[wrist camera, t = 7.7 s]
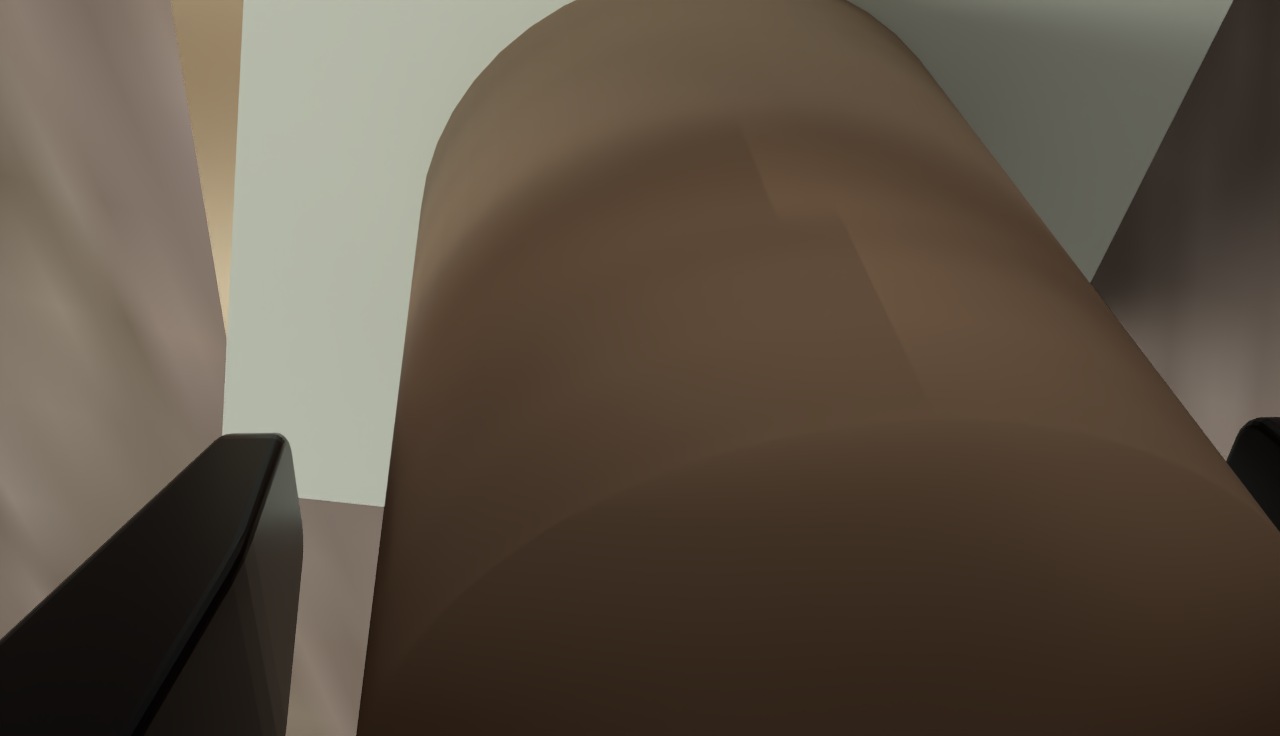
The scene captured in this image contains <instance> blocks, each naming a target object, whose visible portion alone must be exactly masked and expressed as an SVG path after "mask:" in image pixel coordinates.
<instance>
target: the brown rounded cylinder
mask: <svg viewBox="0 0 1280 736" xmlns="http://www.w3.org/2000/svg"><path fill="white" fill-rule="evenodd" d="M356 736H1280V532H1279V531H1278V529H1277V528H1276V527H1275V525H1274V524H1273V523H1272V521H1271V520H1270V519H1269V517H1268V516H1267V515H1266V514H1265V512H1264V511H1263V510H1262V508H1261V507H1260V506H1259V504H1258V503H1257V502H1256V500H1255V499H1254V498H1253V496H1252V495H1251V494H1250V493H1249V491H1248V490H1247V489H1246V487H1245V486H1244V485H1243V483H1242V482H1241V481H1240V479H1239V478H1238V477H1237V475H1236V474H1235V473H1234V472H1233V470H1232V469H1231V468H1230V466H1229V465H1228V464H1227V462H1226V461H1225V460H1224V458H1223V457H1222V456H1221V454H1220V453H1219V452H1218V451H1217V449H1216V448H1215V447H1214V445H1213V444H1212V443H1211V441H1210V440H1209V439H1208V437H1207V436H1206V435H1205V433H1204V432H1203V431H1202V430H1201V428H1200V427H1199V426H1198V424H1197V423H1196V422H1195V420H1194V419H1193V418H1192V416H1191V415H1190V414H1189V412H1188V411H1187V410H1186V409H1185V407H1184V406H1183V405H1182V403H1181V402H1180V401H1179V399H1178V398H1177V397H1176V395H1175V394H1174V393H1173V391H1172V390H1171V389H1170V388H1169V386H1168V385H1167V384H1166V382H1165V381H1164V380H1163V378H1162V377H1161V376H1160V374H1159V373H1158V372H1157V371H1156V369H1155V368H1154V367H1153V365H1152V364H1151V363H1150V361H1149V360H1148V359H1147V357H1146V356H1145V355H1144V353H1143V352H1142V351H1141V350H1140V348H1139V347H1138V346H1137V344H1136V343H1135V342H1134V340H1133V339H1132V338H1131V336H1130V335H1129V334H1128V332H1127V331H1126V330H1125V329H1124V327H1123V326H1122V325H1121V323H1120V322H1119V321H1118V319H1117V318H1116V317H1115V315H1114V314H1113V313H1112V311H1111V310H1110V309H1109V308H1108V306H1107V305H1106V304H1105V302H1104V301H1103V300H1102V298H1101V297H1100V296H1099V294H1098V293H1097V292H1096V290H1095V289H1094V288H1093V287H1092V285H1091V284H1090V283H1089V281H1088V280H1087V279H1086V277H1085V276H1084V275H1083V273H1082V272H1081V271H1080V269H1079V268H1078V267H1077V266H1076V264H1075V263H1074V262H1073V260H1072V259H1071V258H1070V256H1069V255H1068V254H1067V252H1066V251H1065V250H1064V248H1063V247H1062V246H1061V245H1060V243H1059V242H1058V241H1057V239H1056V238H1055V237H1054V235H1053V234H1052V233H1051V231H1050V230H1049V229H1048V228H1047V226H1046V225H1045V224H1044V222H1043V221H1042V220H1041V218H1040V217H1039V216H1038V214H1037V213H1036V212H1035V210H1034V209H1033V208H1032V207H1031V205H1030V204H1029V203H1028V201H1027V200H1026V199H1025V197H1024V196H1023V195H1022V193H1021V192H1020V191H1019V189H1018V188H1017V187H1016V186H1015V184H1014V183H1013V182H1012V180H1011V179H1010V178H1009V176H1008V175H1007V174H1006V172H1005V171H1004V170H1003V168H1002V167H1001V166H1000V165H999V163H998V162H997V161H996V159H995V158H994V157H993V155H992V154H991V153H990V151H989V150H988V149H987V147H986V146H985V145H984V144H983V142H982V141H981V140H980V138H979V137H978V136H977V134H976V133H975V132H974V130H973V129H972V128H971V126H970V125H969V124H968V123H967V121H966V120H965V119H964V117H963V116H962V115H961V113H960V112H959V111H958V109H957V108H956V107H955V105H954V104H953V103H952V102H951V100H950V99H949V98H948V96H947V95H946V94H945V92H944V91H943V90H942V88H941V87H940V86H939V84H938V83H937V82H936V81H935V79H934V78H933V77H932V75H931V74H930V73H929V71H928V70H927V69H926V67H925V66H924V65H923V64H922V62H921V61H920V60H919V58H918V57H917V56H916V55H915V54H914V53H913V52H912V51H911V50H910V49H909V48H908V47H907V46H906V45H905V44H904V43H903V41H902V40H901V39H900V38H899V37H898V36H897V35H896V34H895V33H894V32H892V31H891V30H890V29H888V28H887V27H886V26H885V25H883V24H882V23H881V22H879V21H878V20H877V19H876V18H874V17H873V16H872V15H870V14H869V13H868V12H866V11H865V10H863V9H861V8H859V7H858V6H856V5H854V4H852V3H851V2H849V1H847V0H575V1H573V2H571V3H569V4H567V5H564V6H563V7H561V8H560V9H558V10H556V11H555V12H553V13H552V14H550V15H548V16H547V17H545V18H544V19H542V20H541V21H539V22H537V23H536V24H534V25H533V26H531V27H530V28H528V29H527V30H526V31H525V32H524V33H522V34H521V35H520V36H519V37H518V38H516V39H515V40H514V41H513V42H512V43H510V44H509V45H508V46H507V47H506V48H504V49H503V50H502V51H501V52H500V53H499V54H498V55H497V56H496V57H495V58H494V59H493V60H492V61H491V63H490V64H489V65H488V66H487V67H486V68H485V69H484V70H483V71H482V72H481V73H480V75H479V76H478V77H477V78H476V79H475V80H474V81H473V83H472V84H471V86H470V87H469V89H468V90H467V91H466V93H465V94H464V96H463V97H462V99H461V100H460V102H459V103H458V105H457V106H456V107H455V109H454V110H453V112H452V114H451V116H450V118H449V120H448V122H447V124H446V126H445V128H444V130H443V132H442V134H441V136H440V138H439V140H438V142H437V145H436V148H435V151H434V154H433V157H432V160H431V164H430V167H429V170H428V173H427V176H426V181H425V187H424V193H423V199H422V205H421V211H420V220H419V228H418V236H417V244H416V252H415V260H414V269H413V277H412V285H411V293H410V301H409V309H408V318H407V326H406V334H405V342H404V350H403V359H402V367H401V375H400V383H399V391H398V399H397V408H396V416H395V424H394V432H393V440H392V448H391V457H390V465H389V473H388V481H387V489H386V498H385V506H384V514H383V522H382V530H381V538H380V547H379V555H378V563H377V571H376V579H375V587H374V596H373V604H372V612H371V620H370V628H369V637H368V645H367V653H366V661H365V669H364V677H363V686H362V694H361V702H360V710H359V718H358V726H357V735H356Z"/></svg>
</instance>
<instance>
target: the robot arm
mask: <svg viewBox="0 0 1280 736" xmlns="http://www.w3.org/2000/svg"><path fill="white" fill-rule="evenodd" d="M1226 462H1227V464H1228V465H1229V466H1230V468H1231V469H1232V470H1233V472H1234V473H1235V474H1236V475H1237V477H1238V478H1239V479H1240V481H1241V482H1242V483H1243V485H1244V486H1245V487H1246V489H1247V490H1248V491H1249V493H1250V494H1251V495H1252V496H1253V498H1254V499H1255V500H1256V502H1257V503H1258V504H1259V506H1260V507H1261V508H1262V510H1263V511H1264V512H1265V514H1266V515H1267V516H1268V517H1269V519H1270V520H1271V521H1272V523H1273V524H1274V525H1275V527H1276V528H1277V529H1278V531H1279V532H1280V417H1260V418H1256V419H1253V420H1251V421H1249V422H1247V423H1246V424H1245V425H1244V426H1243V427H1242V428H1241V429H1240V431H1239V433H1238V435H1237V437H1236V439H1235V442H1234V444H1233V446H1232V449H1231V451H1230V453H1229V456H1228V458H1227V461H1226ZM302 560H303V529H302V520H301V513H300V506H299V499H298V492H297V485H296V478H295V471H294V465H293V458H292V451H291V447H290V444H289V442H288V440H287V439H286V437H285V436H283V435H282V434H280V433H232V434H225V435H223V436H221V437H219V438H218V439H217V440H215V441H214V442H213V443H212V444H211V445H210V446H209V447H208V448H207V449H205V450H204V451H203V452H202V453H201V454H200V455H199V456H198V457H197V458H196V459H195V460H194V461H193V462H191V463H190V464H189V465H188V466H187V467H186V468H185V469H184V470H183V471H182V472H181V473H180V474H178V475H177V476H176V477H175V478H174V479H173V480H172V481H171V482H170V483H169V484H168V485H167V486H166V487H164V488H163V489H162V490H161V491H160V492H159V493H158V494H157V495H156V496H155V497H154V498H153V499H152V500H150V501H149V502H148V503H147V504H146V505H145V506H144V507H143V508H142V509H141V510H140V511H139V512H138V513H136V514H135V515H134V516H133V517H132V518H131V519H130V520H129V521H128V522H127V523H126V524H125V525H124V526H122V527H121V528H120V529H119V530H118V531H117V532H116V533H115V534H114V535H113V536H112V537H111V538H110V539H108V540H107V541H106V542H105V543H104V544H103V545H102V546H101V547H100V548H99V549H98V550H97V551H96V552H94V553H93V554H92V555H91V556H90V557H89V558H88V559H87V560H86V561H85V562H84V563H83V564H81V565H80V566H79V567H78V568H77V569H76V570H75V571H74V572H73V573H72V574H71V575H70V576H69V577H67V578H66V579H65V580H64V581H63V582H62V583H61V584H60V585H59V586H58V587H57V588H56V589H55V590H53V591H52V592H51V593H50V594H49V595H48V596H47V597H46V598H45V599H44V600H43V601H42V602H41V603H39V604H38V605H37V606H36V607H35V608H34V609H33V610H32V611H31V612H30V613H29V614H28V615H27V616H25V617H24V618H23V619H22V620H21V621H20V622H19V623H18V624H17V625H16V626H15V627H14V628H13V629H11V630H10V631H9V632H8V633H7V634H6V635H5V636H4V637H3V638H2V639H1V640H0V736H285V734H286V726H287V715H288V705H289V695H290V684H291V674H292V664H293V653H294V643H295V633H296V623H297V612H298V602H299V592H300V581H301V571H302Z"/></svg>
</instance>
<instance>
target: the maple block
mask: <svg viewBox="0 0 1280 736" xmlns="http://www.w3.org/2000/svg"><path fill="white" fill-rule="evenodd" d="M170 1H171V7H172V13H173V19H174V25H175V31H176V37H177V43H178V49H179V55H180V61H181V67H182V73H183V79H184V85H185V91H186V97H187V103H188V109H189V115H190V121H191V127H192V133H193V139H194V145H195V151H196V157H197V163H198V169H199V175H200V181H201V187H202V193H203V199H204V205H205V211H206V217H207V223H208V229H209V235H210V241H211V247H212V253H213V259H214V265H215V271H216V277H217V283H218V289H219V295H220V301H221V307H222V313H223V319H224V325H225V331H226V337H227V329H228V309H229V288H230V268H231V247H232V227H233V206H234V186H235V165H236V145H237V124H238V104H239V83H240V63H241V42H242V21H243V1H244V0H170Z"/></svg>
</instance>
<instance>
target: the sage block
mask: <svg viewBox="0 0 1280 736" xmlns="http://www.w3.org/2000/svg"><path fill="white" fill-rule="evenodd" d="M573 1H575V0H244V1H243V21H242V42H241V63H240V83H239V104H238V124H237V145H236V165H235V186H234V206H233V227H232V247H231V268H230V288H229V309H228V329H227V350H226V370H225V391H224V411H223V432H222V436H223V435H225V434H232V433H280V434H282V435H283V436H285V437H286V439H287V440H288V442H289V444H290V447H291V451H292V458H293V465H294V471H295V478H296V485H297V492H298V498H306V499H315V500H325V501H334V502H343V503H353V504H362V505H371V506H381V507H384V506H385V498H386V489H387V481H388V473H389V465H390V457H391V448H392V440H393V432H394V424H395V416H396V408H397V399H398V391H399V383H400V375H401V367H402V359H403V350H404V342H405V334H406V326H407V318H408V309H409V301H410V293H411V285H412V277H413V269H414V260H415V252H416V244H417V236H418V228H419V220H420V211H421V205H422V199H423V193H424V187H425V181H426V176H427V173H428V170H429V167H430V164H431V160H432V157H433V154H434V151H435V148H436V145H437V142H438V140H439V138H440V136H441V134H442V132H443V130H444V128H445V126H446V124H447V122H448V120H449V118H450V116H451V114H452V112H453V110H454V109H455V107H456V106H457V105H458V103H459V102H460V100H461V99H462V97H463V96H464V94H465V93H466V91H467V90H468V89H469V87H470V86H471V84H472V83H473V81H474V80H475V79H476V78H477V77H478V76H479V75H480V73H481V72H482V71H483V70H484V69H485V68H486V67H487V66H488V65H489V64H490V63H491V61H492V60H493V59H494V58H495V57H496V56H497V55H498V54H499V53H500V52H501V51H502V50H503V49H504V48H506V47H507V46H508V45H509V44H510V43H512V42H513V41H514V40H515V39H516V38H518V37H519V36H520V35H521V34H522V33H524V32H525V31H526V30H527V29H528V28H530V27H531V26H533V25H534V24H536V23H537V22H539V21H541V20H542V19H544V18H545V17H547V16H548V15H550V14H552V13H553V12H555V11H556V10H558V9H560V8H561V7H563V6H564V5H567V4H569V3H571V2H573ZM847 1H849V2H851V3H852V4H854V5H856V6H858V7H859V8H861V9H863V10H865V11H866V12H868V13H869V14H870V15H872V16H873V17H874V18H876V19H877V20H878V21H879V22H881V23H882V24H883V25H885V26H886V27H887V28H888V29H890V30H891V31H892V32H894V33H895V34H896V35H897V36H898V37H899V38H900V39H901V40H902V41H903V43H904V44H905V45H906V46H907V47H908V48H909V49H910V50H911V51H912V52H913V53H914V54H915V55H916V56H917V57H918V58H919V60H920V61H921V62H922V64H923V65H924V66H925V67H926V69H927V70H928V71H929V73H930V74H931V75H932V77H933V78H934V79H935V81H936V82H937V83H938V84H939V86H940V87H941V88H942V90H943V91H944V92H945V94H946V95H947V96H948V98H949V99H950V100H951V102H952V103H953V104H954V105H955V107H956V108H957V109H958V111H959V112H960V113H961V115H962V116H963V117H964V119H965V120H966V121H967V123H968V124H969V125H970V126H971V128H972V129H973V130H974V132H975V133H976V134H977V136H978V137H979V138H980V140H981V141H982V142H983V144H984V145H985V146H986V147H987V149H988V150H989V151H990V153H991V154H992V155H993V157H994V158H995V159H996V161H997V162H998V163H999V165H1000V166H1001V167H1002V168H1003V170H1004V171H1005V172H1006V174H1007V175H1008V176H1009V178H1010V179H1011V180H1012V182H1013V183H1014V184H1015V186H1016V187H1017V188H1018V189H1019V191H1020V192H1021V193H1022V195H1023V196H1024V197H1025V199H1026V200H1027V201H1028V203H1029V204H1030V205H1031V207H1032V208H1033V209H1034V210H1035V212H1036V213H1037V214H1038V216H1039V217H1040V218H1041V220H1042V221H1043V222H1044V224H1045V225H1046V226H1047V228H1048V229H1049V230H1050V231H1051V233H1052V234H1053V235H1054V237H1055V238H1056V239H1057V241H1058V242H1059V243H1060V245H1061V246H1062V247H1063V248H1064V250H1065V251H1066V252H1067V254H1068V255H1069V256H1070V258H1071V259H1072V260H1073V262H1074V263H1075V264H1076V266H1077V267H1078V268H1079V269H1080V271H1081V272H1082V273H1083V275H1084V276H1085V277H1086V279H1087V280H1088V281H1089V283H1091V281H1092V279H1093V277H1094V275H1095V273H1096V271H1097V269H1098V267H1099V265H1100V263H1101V261H1102V259H1103V257H1104V255H1105V253H1106V251H1107V249H1108V247H1109V245H1110V243H1111V241H1112V239H1113V237H1114V235H1115V233H1116V231H1117V229H1118V227H1119V225H1120V223H1121V221H1122V219H1123V217H1124V215H1125V213H1126V211H1127V210H1128V208H1129V206H1130V204H1131V202H1132V200H1133V198H1134V196H1135V194H1136V192H1137V190H1138V188H1139V186H1140V184H1141V182H1142V180H1143V178H1144V176H1145V174H1146V172H1147V170H1148V168H1149V166H1150V164H1151V162H1152V160H1153V158H1154V156H1155V154H1156V152H1157V150H1158V148H1159V146H1160V144H1161V142H1162V140H1163V138H1164V136H1165V134H1166V132H1167V130H1168V128H1169V126H1170V124H1171V122H1172V121H1173V119H1174V117H1175V115H1176V113H1177V111H1178V109H1179V107H1180V105H1181V103H1182V101H1183V99H1184V97H1185V95H1186V93H1187V91H1188V89H1189V87H1190V85H1191V83H1192V81H1193V79H1194V77H1195V75H1196V73H1197V71H1198V69H1199V67H1200V65H1201V63H1202V61H1203V59H1204V57H1205V55H1206V53H1207V51H1208V49H1209V47H1210V45H1211V43H1212V41H1213V39H1214V37H1215V35H1216V34H1217V32H1218V30H1219V28H1220V26H1221V24H1222V22H1223V20H1224V18H1225V16H1226V14H1227V12H1228V10H1229V8H1230V6H1231V4H1232V2H1233V0H847Z"/></svg>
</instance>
